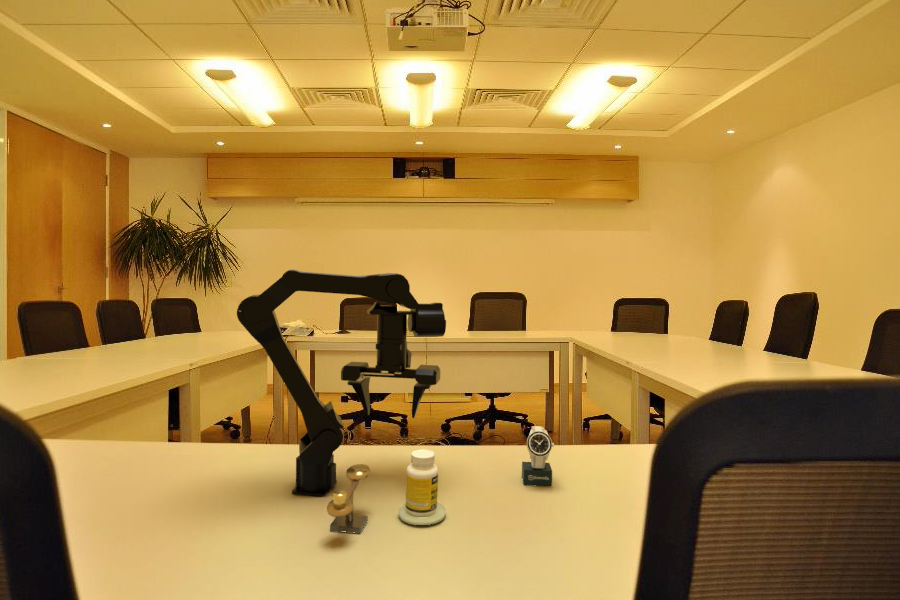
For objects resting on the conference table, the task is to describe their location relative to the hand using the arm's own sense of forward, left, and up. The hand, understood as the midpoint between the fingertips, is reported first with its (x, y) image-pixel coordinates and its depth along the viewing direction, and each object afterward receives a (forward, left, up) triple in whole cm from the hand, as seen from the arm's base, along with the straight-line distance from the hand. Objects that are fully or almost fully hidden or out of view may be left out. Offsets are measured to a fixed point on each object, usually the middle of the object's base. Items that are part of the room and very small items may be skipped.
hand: (390, 416), depth 99 cm
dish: (+9, -13, -13) cm, 20 cm away
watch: (+29, +5, -13) cm, 32 cm away
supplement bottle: (+9, -13, -12) cm, 20 cm away
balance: (-2, -18, -13) cm, 23 cm away
